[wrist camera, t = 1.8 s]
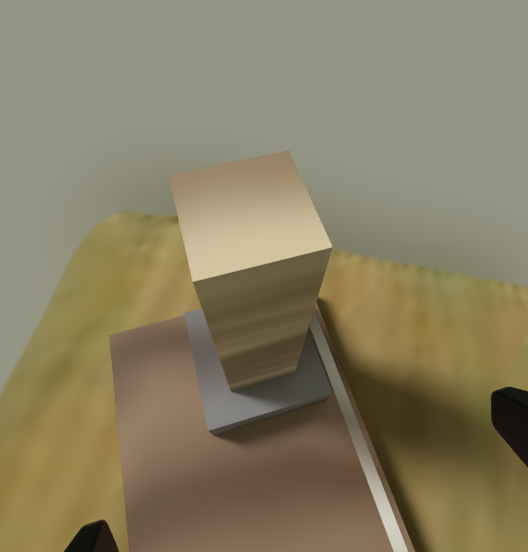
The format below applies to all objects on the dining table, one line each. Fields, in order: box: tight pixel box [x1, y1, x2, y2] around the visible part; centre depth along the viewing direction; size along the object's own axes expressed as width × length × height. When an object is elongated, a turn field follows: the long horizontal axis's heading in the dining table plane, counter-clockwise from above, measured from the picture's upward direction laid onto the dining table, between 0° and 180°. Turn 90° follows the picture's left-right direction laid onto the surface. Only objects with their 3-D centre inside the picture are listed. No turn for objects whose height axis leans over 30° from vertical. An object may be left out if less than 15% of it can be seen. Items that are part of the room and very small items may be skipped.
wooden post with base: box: [169, 151, 332, 436], centre depth 15 cm, size 6×6×13 cm
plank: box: [109, 303, 415, 552], centre depth 18 cm, size 20×12×2 cm, turn 16°
